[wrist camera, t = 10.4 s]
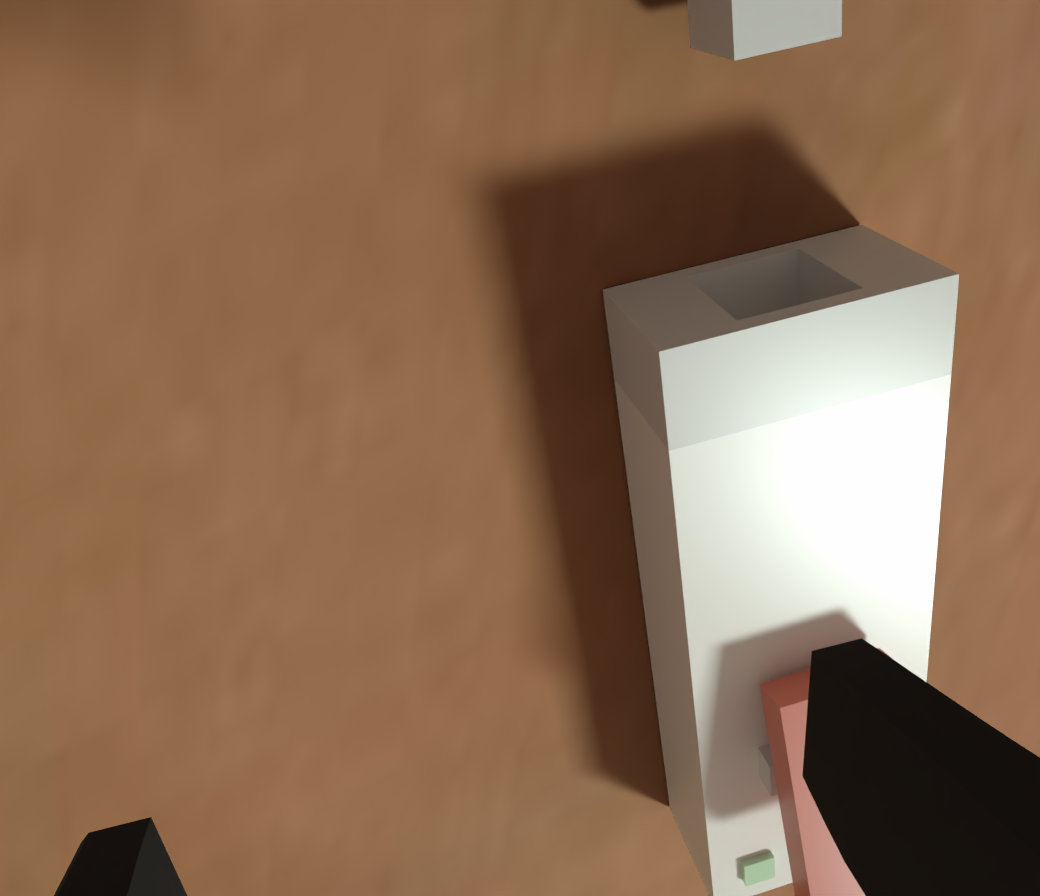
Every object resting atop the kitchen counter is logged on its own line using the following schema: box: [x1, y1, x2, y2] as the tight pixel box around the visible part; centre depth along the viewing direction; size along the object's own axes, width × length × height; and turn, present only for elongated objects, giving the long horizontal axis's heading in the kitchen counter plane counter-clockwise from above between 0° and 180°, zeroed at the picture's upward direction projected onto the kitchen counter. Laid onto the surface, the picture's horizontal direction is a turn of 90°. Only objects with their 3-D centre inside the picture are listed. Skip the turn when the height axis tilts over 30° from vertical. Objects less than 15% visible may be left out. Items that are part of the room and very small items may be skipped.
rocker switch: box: [759, 648, 894, 896], centre depth 20 cm, size 6×3×1 cm, turn 10°
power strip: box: [603, 225, 959, 896], centre depth 21 cm, size 16×6×4 cm, turn 10°
